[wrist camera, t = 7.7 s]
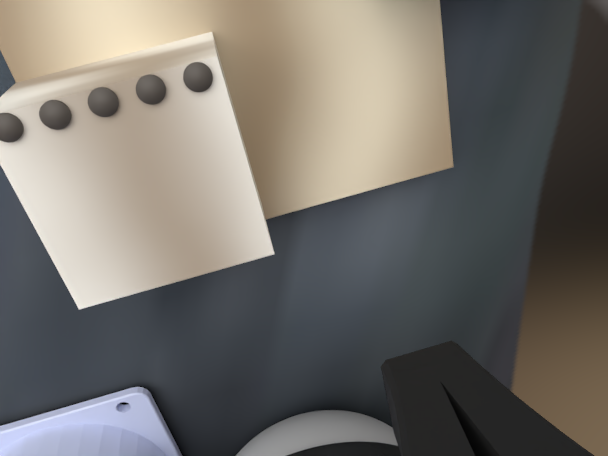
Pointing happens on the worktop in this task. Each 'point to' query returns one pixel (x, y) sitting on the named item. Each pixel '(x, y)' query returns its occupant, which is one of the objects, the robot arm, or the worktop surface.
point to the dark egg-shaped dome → (325, 436)
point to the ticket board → (285, 80)
